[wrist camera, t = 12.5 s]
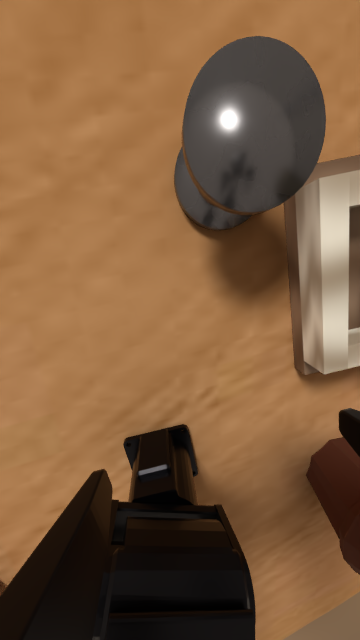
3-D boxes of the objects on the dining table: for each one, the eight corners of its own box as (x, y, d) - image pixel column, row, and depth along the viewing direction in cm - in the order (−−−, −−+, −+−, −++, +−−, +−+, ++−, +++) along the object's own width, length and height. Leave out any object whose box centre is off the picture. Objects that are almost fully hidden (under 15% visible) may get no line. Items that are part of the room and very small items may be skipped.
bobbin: (267, 220, 18) (327, 197, 11) (184, 238, 17) (198, 224, 11) (258, 118, 16) (324, 23, 9) (165, 136, 15) (169, 51, 9)
